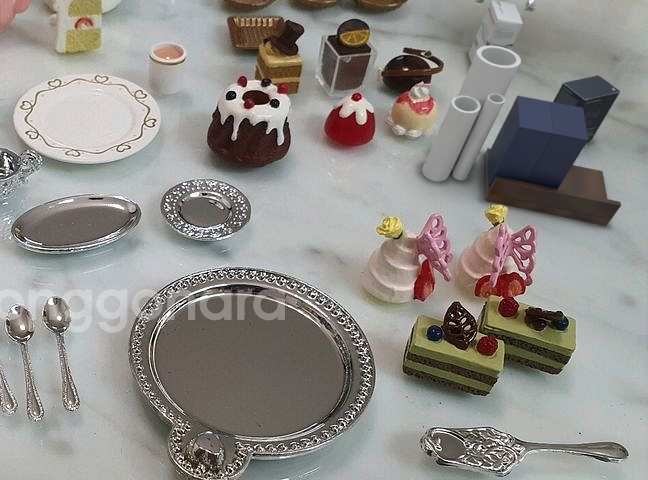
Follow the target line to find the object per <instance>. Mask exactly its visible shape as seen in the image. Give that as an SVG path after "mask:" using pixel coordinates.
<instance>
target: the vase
mask: <svg viewBox="0 0 648 480" xmlns="http://www.w3.org/2000/svg"><path fill="white" fill-rule="evenodd" d="M521 61H522V59H521V57H520V56H519V55H518V54H517V53H516V52H515V51H513V50H512V49H511V50H509V49H506V48H504V47H499V46H491V45H490V46H483V47H480V48H479V49H478V50H477V52H476V55H475V57H474V59H473V61H472V64H471V63H470V66H469V69H468V71H467V72H466V76H465V77H464V80H463V82H462V85H461V87H460V89H459V92H458V94H457V96H454V97H453V98H452V99H451V101H450V103H449V105H448V108H447V111H446V112H445V115H444V118H443V120H442V122H441V124H440V126H439V129H438V131H437V134H436V136H435V138H434V141H433V144H432V146H431V148H430V150H429V153H428V155H427V157H426V160H425V162H424V164H423V166H422V169H421V173H422V175H423V176H424V177H425V178H426V179H428V180H429V181H433V182H438V183H439V182H444V181H446V180H448V178H449V176H450V174H451V176H452V177H453V178H454V179H455V180H458V181H465V180H467V178H468V177H469V175H470V173H471V171H472V168H473V166H474V165H475V162H476V161H477V159H478V156H479V154H480V153H481V150H482V149H483V147H484V144H485V143H486V141H487V138H488V137H489V134H490V132H491V131H492V128H493V126H494V124H495V122H496V120H497V118H498V116H499V114H500V112H501V110H502V107H503V106H504V104H505V101H506V93H507V92H508V90H509V88H510V86H511V84H512V81H513V80H514V78H515V77H516V73H517V72H518V69H519V67H520V66H521Z"/></svg>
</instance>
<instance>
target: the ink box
mask: <svg viewBox="0 0 648 480" xmlns="http://www.w3.org/2000/svg"><path fill="white" fill-rule="evenodd" d="M523 25H524V22H523V20H522V17H521V15H520V12H519V9H518V8H517V5H516V2H507V1H500V0H491V1H490V2H489V5H488V7H487V10H486V12H485V14H484V16H483V18H482V21H481V24H480V27H479V28H478V31H477V33H476V36H475V38H474V40H473V42H472V45H471V47H470V49H469V52H468V57H469V61H470V65H471V64H472V61H473V59H474V57H475V55H476V52H477V50H478V49H479V48H480V47H483V46H490V45H491V46H499V47H504V48H506V49H509V50H511V51H512V48H513V46H514V44H515V42H516V39H517V37H518V36H519V33H520V31H521V29H522V27H523Z"/></svg>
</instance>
